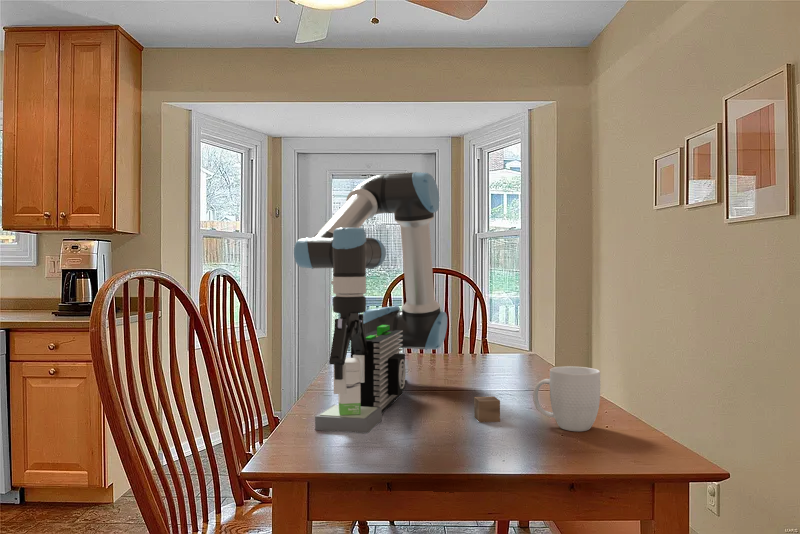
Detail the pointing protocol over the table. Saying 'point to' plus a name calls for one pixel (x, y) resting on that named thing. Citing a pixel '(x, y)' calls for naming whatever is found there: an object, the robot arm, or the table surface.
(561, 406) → the mug
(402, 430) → the table surface
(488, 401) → the walnut block
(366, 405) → the electronic device
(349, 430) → the stand
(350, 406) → the ink box
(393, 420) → the table surface
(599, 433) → the table surface
